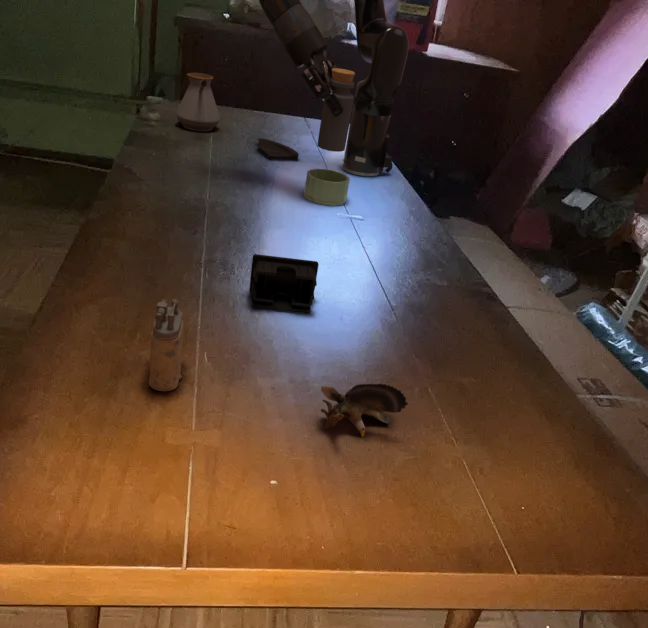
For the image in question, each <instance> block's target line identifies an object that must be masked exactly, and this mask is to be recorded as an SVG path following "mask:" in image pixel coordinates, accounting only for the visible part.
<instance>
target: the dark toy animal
mask: <svg viewBox="0 0 648 628" xmlns="http://www.w3.org/2000/svg"><path fill="white" fill-rule="evenodd" d="M320 391H321V393H322V394H323V395H324V396H325V398H327V400H326V399H322V402H323V403H325V404H326V407H327V409H325V408H321V409H320V411H321V413H323V414H324V415H325V417H326V423H325V425H324V429H325V430H327V429H330V428H332V427H334V426H335V425H336V423H337V422H338V421H341V420H342V419H343V418H347V419H348V420H349V421H350V423H351V424H352V425H354V427H356V429H357V430H358V432H359V433H360V436H361V437H360V438H363V437H365V432H366V426H365V424H364V422H363V419H362V416H363V415H365V416H367V417H371V418H373V419H376V420H378V421H380V422H382V423H384V424H386V425H389V423H390V419H389V417H388V416H387V415H385V414H384V413H385V412H386V413H392V414H393V413H394V414H396V413H401V412H402V410H403V409H405V408H406V407H407V406H408V405H409V404H408V402H407V397H406V396H405V394H404V393H403V392H402V390H400V389H398V388H397V387H394V386H393V385H392V386H391V385H390V384H386V383H361V384H360V383H359V384H356V385H354V386H352V388H350V389H349V390H348V391H347V392H346V393H345V394H342V393H340V392H338V391H337V389H336V388H335V387H333V386H330V385H322V386H320ZM328 400H330V401H333V402H336V403H335V404H334V405H333V404H332V403H331V402H330V401H328Z"/></svg>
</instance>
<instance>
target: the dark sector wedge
mask: <svg viewBox="0 0 648 628" xmlns="http://www.w3.org/2000/svg"><path fill="white" fill-rule="evenodd" d="M257 140H258V147H257V151H258V152H259V153H261V154H262V155H263V156H265V157H266V158H267V159H268V160H276V161H277V160H278V161H283V160H284V161H299V155H300V154H299V153H298V152H297V151H296V150H295V149H293V148H292V147H290V146H288V145H285V144H283V143H281V142H277V141H274V140H271V139H267V138H257Z"/></svg>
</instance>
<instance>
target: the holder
mask: <svg viewBox="0 0 648 628" xmlns="http://www.w3.org/2000/svg"><path fill="white" fill-rule="evenodd" d="M350 179H351V178H350V177H349V176H348V175H347V174H345V173H343V172H341V171H337V170H333V169H329V168H311V169H309V170H307V172H306V178H305V183H304V192H303V197H304V198H305V199H306V200H308V201H310V202H313V203H314V204H319V205H323V206H324V205H325V206H332V207H336V206H342V205H344V204H346V202H347V198H348V193H349V187H350V182H351V180H350Z"/></svg>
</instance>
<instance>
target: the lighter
mask: <svg viewBox="0 0 648 628" xmlns="http://www.w3.org/2000/svg"><path fill="white" fill-rule="evenodd" d="M179 301H180V300H179V299H177V298H173V299H172V300H171V306H169V305H168V300H167V299H166V298H162V299H161V300H160V301H158V302H157V304H156V313H155V315H154V321H153V323H152V331H151V334H150V355H149V380H148V386H150V387H151V388H152V389H153V390H155V391H160V392H170V391H173V390H175V389H177V387H178V385H179V381H181V379H183V375H182V373H181V372H182V356H183V355H182V353H183V339H184V323H185V322H184V320H183V317H184V315H183V311H182V310H180V308H178V307H179V304H180V302H179Z"/></svg>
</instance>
